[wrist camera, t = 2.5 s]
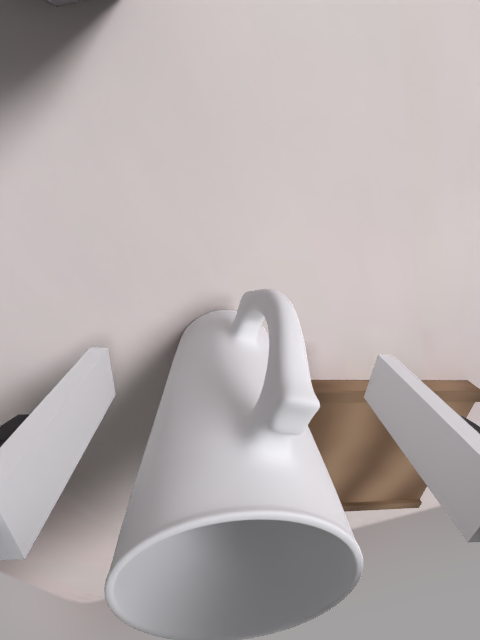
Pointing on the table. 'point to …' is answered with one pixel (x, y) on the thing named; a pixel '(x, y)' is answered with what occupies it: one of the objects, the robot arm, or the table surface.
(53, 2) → the toilet tissue
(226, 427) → the mug
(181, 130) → the table surface
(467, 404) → the wooden coaster
